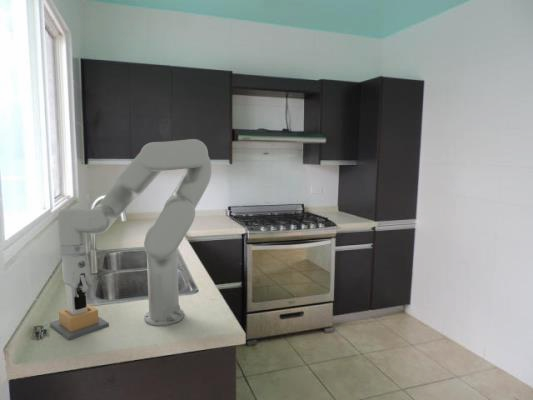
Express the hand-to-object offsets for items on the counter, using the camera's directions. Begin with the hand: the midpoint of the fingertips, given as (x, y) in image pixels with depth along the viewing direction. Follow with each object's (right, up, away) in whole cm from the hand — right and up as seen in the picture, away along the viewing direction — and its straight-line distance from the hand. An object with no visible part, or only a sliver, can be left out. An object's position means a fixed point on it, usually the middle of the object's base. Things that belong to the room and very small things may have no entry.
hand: (77, 305), depth 118 cm
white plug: (0, -3, 0) cm, 3 cm away
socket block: (0, -7, +1) cm, 7 cm away
